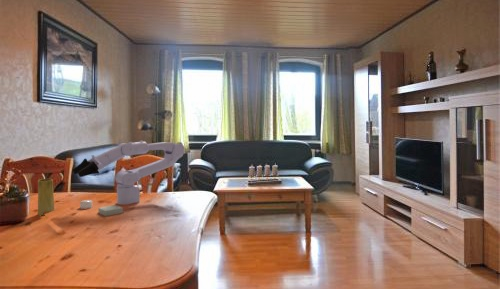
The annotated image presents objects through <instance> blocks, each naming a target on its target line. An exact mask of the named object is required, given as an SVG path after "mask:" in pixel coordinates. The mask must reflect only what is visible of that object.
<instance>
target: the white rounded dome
mask: <svg viewBox="0 0 500 289" xmlns="http://www.w3.org/2000/svg"><path fill="white" fill-rule="evenodd" d="M91 208H93V200H92V199H85V200H80V201H79V209H83V210H84V209H85V210H86V209H91Z"/></svg>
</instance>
